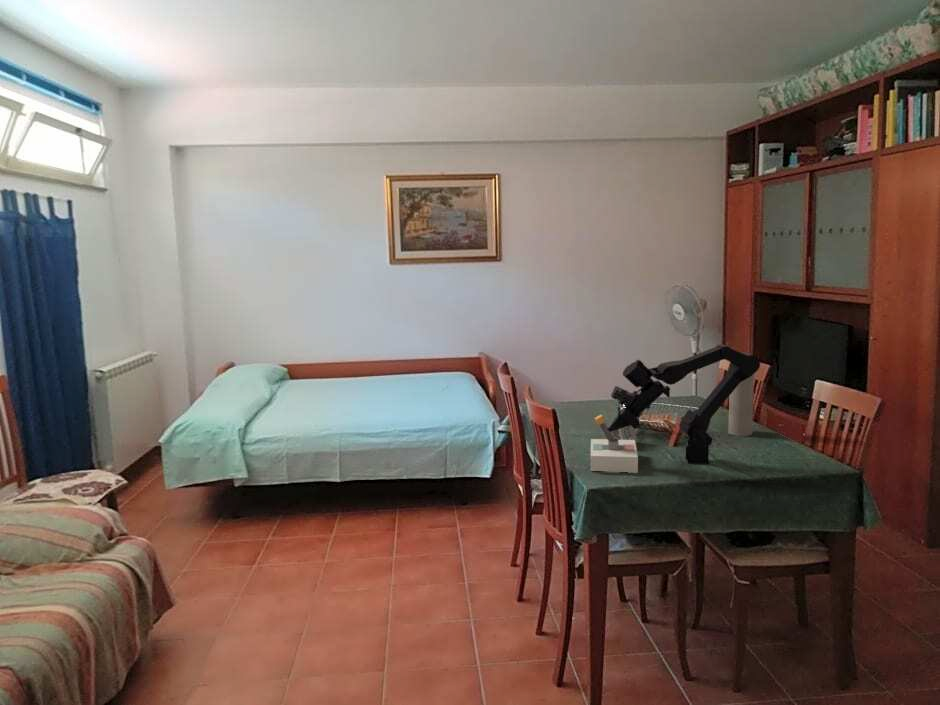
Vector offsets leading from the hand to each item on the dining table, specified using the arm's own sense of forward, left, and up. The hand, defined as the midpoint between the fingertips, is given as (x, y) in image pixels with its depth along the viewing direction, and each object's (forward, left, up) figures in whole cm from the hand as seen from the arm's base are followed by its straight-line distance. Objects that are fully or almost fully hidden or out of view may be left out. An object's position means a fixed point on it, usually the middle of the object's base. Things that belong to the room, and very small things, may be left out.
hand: (609, 430), depth 224 cm
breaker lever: (-1, 0, -4) cm, 4 cm away
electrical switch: (-5, -20, -11) cm, 23 cm away
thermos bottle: (-46, -37, -11) cm, 60 cm away
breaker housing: (-1, 0, -11) cm, 11 cm away
